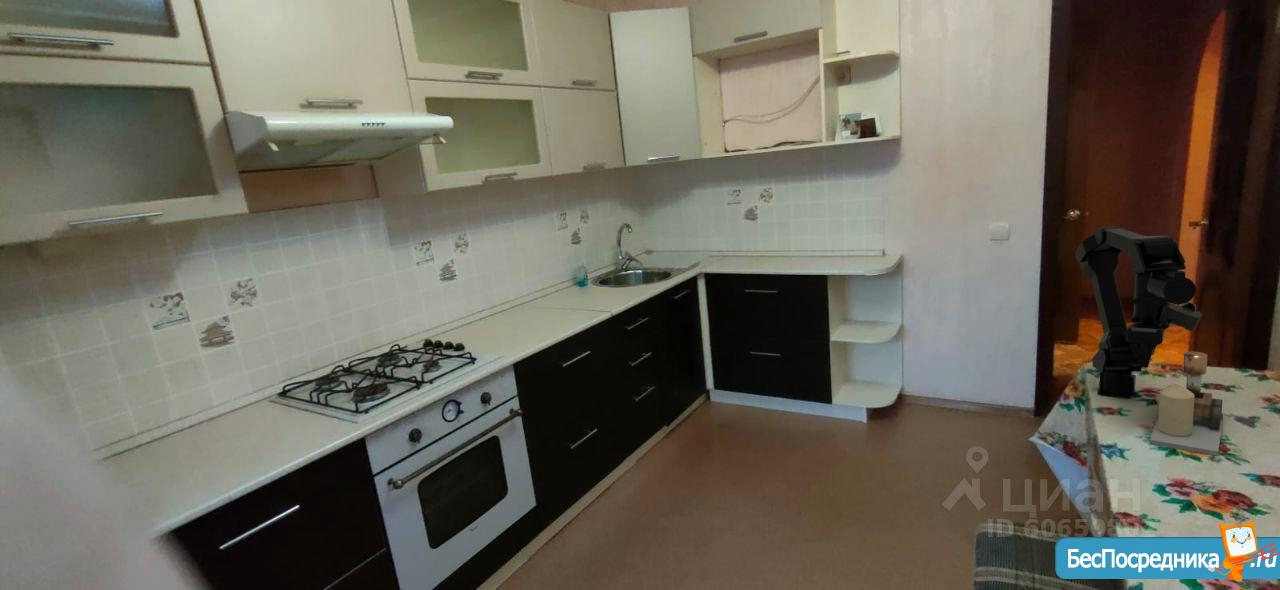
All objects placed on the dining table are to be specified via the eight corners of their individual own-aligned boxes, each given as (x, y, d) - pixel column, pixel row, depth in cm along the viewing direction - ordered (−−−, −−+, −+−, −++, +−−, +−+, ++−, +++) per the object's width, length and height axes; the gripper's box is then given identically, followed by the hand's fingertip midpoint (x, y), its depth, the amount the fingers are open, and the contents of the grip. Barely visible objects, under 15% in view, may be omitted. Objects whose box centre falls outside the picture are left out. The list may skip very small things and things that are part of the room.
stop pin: (1180, 394, 136) (1183, 355, 135) (1182, 389, 139) (1184, 350, 137) (1204, 397, 134) (1206, 358, 132) (1205, 391, 136) (1208, 352, 134)
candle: (1197, 437, 129) (1200, 392, 127) (1164, 436, 131) (1167, 391, 129) (1184, 425, 134) (1187, 382, 132) (1153, 425, 136) (1155, 382, 134)
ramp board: (1149, 444, 131) (1150, 435, 130) (1160, 412, 143) (1160, 404, 143) (1217, 456, 123) (1218, 446, 123) (1222, 422, 136) (1223, 413, 135)
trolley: (1160, 422, 137) (1161, 400, 136) (1165, 407, 143) (1166, 385, 142) (1219, 432, 130) (1220, 408, 129) (1221, 415, 137) (1223, 392, 135)
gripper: (1196, 306, 125) (1191, 379, 129) (1203, 285, 138) (1198, 352, 141) (1126, 302, 133) (1123, 371, 136) (1139, 283, 146) (1136, 347, 149)
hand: (1147, 360), depth 141 cm, fingers open, 9 cm apart
